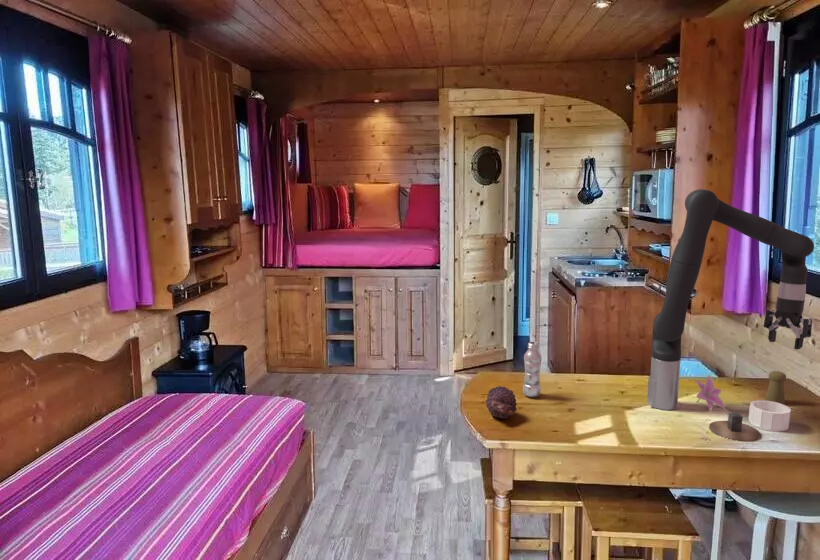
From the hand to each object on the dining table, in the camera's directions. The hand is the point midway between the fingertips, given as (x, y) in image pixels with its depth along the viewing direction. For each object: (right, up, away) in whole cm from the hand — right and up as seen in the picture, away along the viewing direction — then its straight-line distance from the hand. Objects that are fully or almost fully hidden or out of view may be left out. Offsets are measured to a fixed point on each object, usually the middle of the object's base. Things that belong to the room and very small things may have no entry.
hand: (784, 345), depth 194 cm
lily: (-18, -23, +14) cm, 32 cm away
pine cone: (-91, -25, +7) cm, 95 cm away
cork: (+7, -22, +17) cm, 29 cm away
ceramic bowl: (-6, -25, -2) cm, 26 cm away
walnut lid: (-20, -27, -7) cm, 34 cm away
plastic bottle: (-77, -21, +25) cm, 84 cm away
